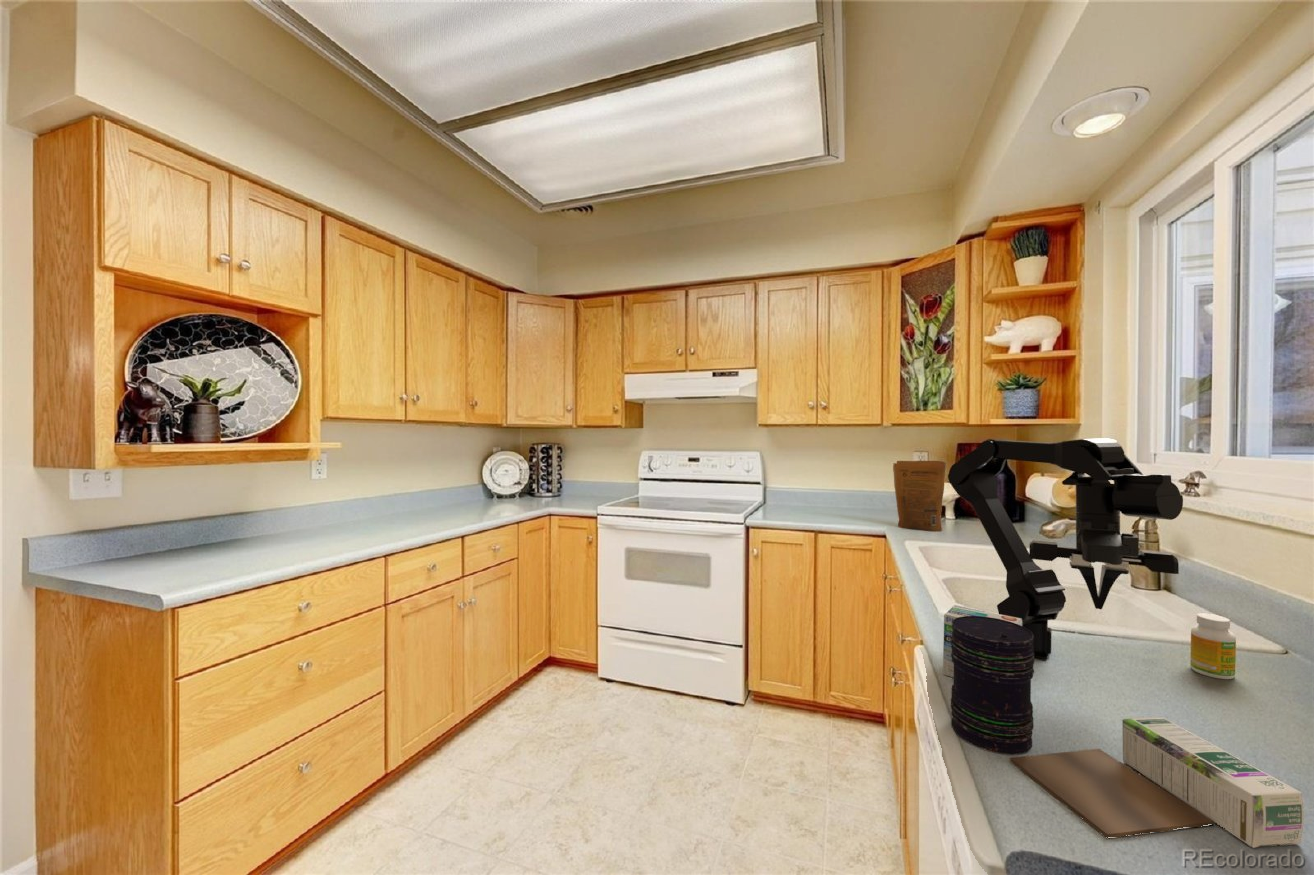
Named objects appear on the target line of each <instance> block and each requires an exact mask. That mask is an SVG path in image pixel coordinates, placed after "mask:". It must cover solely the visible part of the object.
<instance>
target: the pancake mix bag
mask: <svg viewBox="0 0 1314 875" xmlns="http://www.w3.org/2000/svg"><path fill="white" fill-rule="evenodd" d="M946 469H947V462H945V461H943V460H942V461H941V460H897V461H896V463H895V462H894V463H893V466H892V471H893V484H894V485H893V487H894V494H895V500H896V510H897V516H898V524H897V527H899V528H901V529H906V530H919V531H927V532H942V531H943V526H942V519H941V518H942V511H943V498H944V497H943V496H944V492H945V479H946V474H947V473H946V472H947V470H946Z"/></svg>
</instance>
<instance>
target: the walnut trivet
mask: <svg viewBox="0 0 1314 875" xmlns="http://www.w3.org/2000/svg"><path fill="white" fill-rule="evenodd" d="M1009 762H1010V763H1011V764H1013V765H1014V766H1016V768H1017V769H1019V770H1020V771H1022V772H1023V773H1024V772H1025V773H1024V774H1025V775H1027V777H1029V778H1030V779H1031V780H1033V781H1034V782H1035V783H1037V784H1038V785H1039V786H1040V787H1042V788H1043V789H1044V790H1045V791H1047V792H1048V793H1049V794H1050V795H1052V796H1053V797H1054V798H1055V799H1056V800H1058V801H1059V802H1060V803H1061V804H1063V805H1064V806H1065V807H1067V808H1068V810H1070V809H1071V810H1070V811H1071V812H1073V813H1075V815H1077V816H1078V817H1079V818H1080V819H1082V818H1083V819H1082V820H1083V821H1084V822H1085V821H1086V822H1085V823H1087V824H1088V823H1089V824H1088V825H1089V826H1090V825H1091V826H1090V827H1092V828H1093V827H1094V828H1095V829H1096V830H1095V831H1096V832H1097V833H1099V832H1100V833H1102V834H1103V835H1104V836H1105V837H1107V838H1108V837H1119V838H1121V837H1120V836H1126V835H1127V837H1129V836H1128V835H1135V834H1140V833H1141V834H1142V833H1150V832H1159V833H1162V832H1161V831H1168V832H1170V831H1169V830H1173V829H1177V828H1183V827H1200V828H1202V827H1201V826H1203V825H1208V824H1213V825H1214V824H1215V822H1214V821H1212V820H1211V819H1209V818H1208V817H1206V816H1204V815H1203V814H1201V813H1200V812H1198V811H1197V810H1195V809H1194V808H1192V807H1191V806H1189V805H1188V804H1186V803H1185V802H1183V801H1182V800H1180V799H1179V798H1177V797H1176V796H1174V795H1173V794H1171V793H1170V792H1168V791H1167V790H1165V789H1164V788H1162V787H1161V786H1159V785H1158V784H1156V783H1155V782H1153V781H1152V780H1150V779H1149V778H1147V777H1146V776H1144V775H1142V774H1141V773H1138V771H1136V770H1135V769H1133V768H1131V767H1130V766H1127V764H1124V763H1123V762H1121V761H1119V760H1118V759H1116V758H1114V757H1113V756H1112V755H1110V754H1108V753H1107V752H1105V751H1103V750H1102V749H1101V748H1094V749H1083V750H1082V749H1081V750H1074V751H1072V750H1071V751H1063V752H1055V753H1053V752H1052V753H1043V754H1033V755H1024V756H1014V757H1012V756H1011V757H1010V758H1009ZM1094 828H1093V829H1094ZM1100 833H1099V834H1100ZM1102 834H1101V835H1102ZM1103 835H1102V836H1103ZM1104 836H1103V837H1104ZM1135 836H1136V835H1135ZM1105 837H1104V838H1105ZM1107 838H1106V839H1107Z"/></svg>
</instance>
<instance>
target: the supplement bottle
mask: <svg viewBox="0 0 1314 875" xmlns="http://www.w3.org/2000/svg"><path fill="white" fill-rule="evenodd" d="M1196 623H1197V624H1196V625H1194V626H1192V627H1191V630H1190V657H1189V658H1190V659H1189V661H1190V662H1189V663H1190V666H1189V667H1190V668H1191V670H1193V672H1196V673H1198V674H1200V675H1203V676H1206V677H1210V678H1214V679H1220V680H1232V679H1234V678H1235V677H1236V657H1237V654H1236V653H1237V652H1236V649H1237V644H1236V643H1237V638H1236V635H1235V634H1234V633H1233V632H1231V631H1230V629H1231V620H1230V619H1229V618H1227V617H1225V616H1221V615H1218V614H1214V613H1213V614H1211V613H1205V612H1204V613H1203V612H1202V613H1200V612H1199V613H1197V614H1196Z"/></svg>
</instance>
